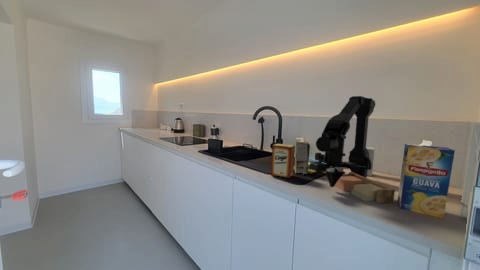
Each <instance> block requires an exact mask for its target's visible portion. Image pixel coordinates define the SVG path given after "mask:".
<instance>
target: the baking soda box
mask: <svg viewBox="0 0 480 270" xmlns="http://www.w3.org/2000/svg"><path fill="white" fill-rule="evenodd" d="M271 149H272V150H271V165H270V166H271V167H270V168H271V169H270V170H271V171H270V176H271V177H276V176H275V175H277V176H283V177H288V178H290V177H291V176H292V175H293V176H294V167H295V151H296V145H293V144H292V145H291V144H287V143H285V144H284V143H283V144H282V143H275V144H272V147H271ZM293 176H292V177H293ZM292 177H291V178H292ZM291 178H290V179H291Z"/></svg>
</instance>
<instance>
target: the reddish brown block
mask: <svg viewBox="0 0 480 270" xmlns="http://www.w3.org/2000/svg"><path fill="white" fill-rule="evenodd" d="M362 183H363V180H361V179H358V178H356V177H353V176H341V178H340V179H339V180H338V181H337V183H336V184H335V186H334V187H336V189H338V190H341V191H342V192H350V191H352V189H353V188H354V185H359V184H362Z"/></svg>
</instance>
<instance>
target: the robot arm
mask: <svg viewBox="0 0 480 270" xmlns="http://www.w3.org/2000/svg"><path fill="white" fill-rule="evenodd" d="M375 107H376V100H374V99H373V98H372V97H370V98H369V97H364V96H362V95H354V96H350V97H349V99H348V101H347V103H345V105H344V107H343V108H342V109H341V111H340V112H339V113H338V114H335V115H332V117H331V118H329V120H328V121H327V123H326V125H325V127H324V129H323V131H322V133H321V136H319V138H317V140H316V141H315V146H316V149H317V150H318V151H320V152H315V154H314V160H315V161H311V162H310V163H309V169H311V170H312V171H314V172H317V173H325V175H326V176H327V179H328V183H329V187H331V188H334V187H335V184H336V183H337V181H338V180H339V179H340V178H341V176H342V175H343V174H347V173H346V172H345V171H344V170H345V169H346V170H348V169H349V171H350V172H353V173H355V174H358V175H360V176H363V177H365V178H368V176H367V170H371V167H372V163H371V160H370V158H369V152H368V150H367V149H366V147H367V139H368V128H369V118H370V116H371V115H372V114H373V112H374V110H375ZM354 116H355V117H356V123H355V138H354V146H353V148H352V149H351V150H350V151H349V155H348V161H343V158H344V157H346V153H344V148H345V140H346V139H347V136H346V135H347V133H348V132H349V130H350V129H351V124H350V121H351V120H352V119H353V117H354ZM321 152H322V153H324V154H322V153H321Z"/></svg>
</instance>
